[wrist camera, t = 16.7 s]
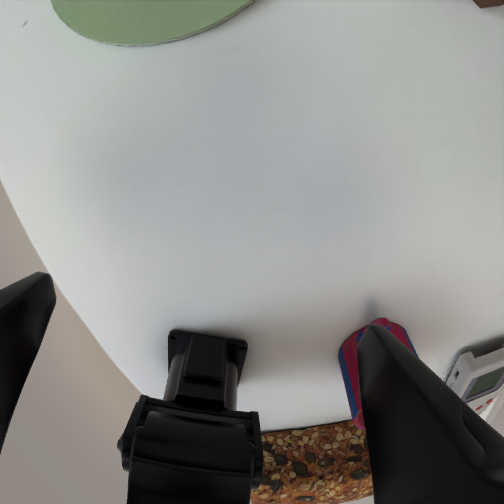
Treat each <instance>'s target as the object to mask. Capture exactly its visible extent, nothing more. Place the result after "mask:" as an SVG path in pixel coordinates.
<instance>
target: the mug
mask: <svg viewBox="0 0 504 504" xmlns="http://www.w3.org/2000/svg"><path fill="white" fill-rule="evenodd" d="M372 324H376V325H383V326H384V327H385V328H386V329H387V330H389V331H390V332H391V333H392V334H393V335H394V336H395V337H396V338H397V339H398V340H399V341H401V342H402V343H403V344H404V345H405V346H406V347H407V348H408V349H409V350H410V351H411V352H412V353H414V354H415V355H416V356H417V357H418V355H417V353H416V351H415V349H414V347H413V345H412V343H411V341H410V339H409V337H408V335H407V333H406V331H405V329H404V328H403V327H401V326H400V325H398V324H394V323H390V322H389V320H388V319H387V318H378V319H376V320H374V321H373V322H372ZM367 327H368V326H367ZM367 327H365V328H362V329H360V330H359V331H357V332H356V333H354V334H353V335H352V336H350V337H349V338H348V339H347V340H346V341H345V343H344V344H343V345H342V347H341V349H340V351H339V355H338V360H339V364H340V368H341V372H342V376H343V380H344V384H345V389H346V393H347V397H348V401H349V406H350V410H351V415H352V419H353V423H354V425H355V426H356V427H357V428H359V429H362V430H365V426H364V419H363V413H362V407H361V401H360V392H359V378H358V365H357V353H356V350H357V345H358V343H359V341H360V339H361V337H362V335H363V334H364V332H365V330H366V328H367Z"/></svg>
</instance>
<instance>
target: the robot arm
mask: <svg viewBox="0 0 504 504" xmlns="http://www.w3.org/2000/svg"><path fill="white" fill-rule="evenodd" d="M55 304H56V294H55V289H54V285H53V280H52V277H51V275H50V274H48V273H44V272H36V273H34V274H32V275H30V276H28V277H26V278H23V279H22V280H19V281H17V282H15V283H13V284H11V285H9V286H7V287H5V288H3V289H1V290H0V454H1V450H2V447H3V443H4V440H5V437H6V433H7V430H8V427H9V424H10V421H11V418H12V415H13V412H14V410H15V407H16V404H17V402H18V399H19V396H20V394H21V391H22V388H23V386H24V383H25V381H26V378H27V376H28V374H29V371H30V369H31V366H32V364H33V362H34V360H35V357H36V355H37V353H38V350H39V348H40V345H41V343H42V340H43V337H44V334H45V331H46V329H47V326H48V323H49V321H50V318H51V315H52V313H53V310H54V307H55ZM175 336H176V337H175ZM240 346H243V347H240ZM247 350H248V344H247V342H245V341H242V340H235V339H228V338H221V337H214V336H207V335H201V334H195V333H189V332H183V331H177V330H171V331H170V332H169V336H168V380H167V384H166V389H165V393H164V397H163V400H161V399H156V398H151V397H149V396H147V395H141V396H140V399H139V401H138V402H136V405H135V407H134V409H133V412H132V414H131V417H130V419H129V421H128V424H127V426H126V428H125V431H124V433H123V434H122V436H121V437H120V439H119V440H118V443H117V448H118V449H119V451H120V452H121V456H122V466H123V469H124V470H125V471H128V472H129V478H128V495H127V497H128V499H127V504H249V503H250V497H251V490H257V489H258V488H259V486H260V483H261V479H262V474H263V461H264V457H263V445H262V437H261V430H260V422H259V415H258V412H255V411H251V412H243V411H236V404H237V387H238V384H239V380H240V376H241V373H242V369H243V365H244V361H245V357H246V354H247ZM356 353H357V365H358V378H359V392H360V401H361V407H362V413H363V419H364V426H365V432H366V439H367V446H368V453H369V460H370V468H371V476H372V485H373V494H374V504H504V437H503V436H502V435H501V434H499V433H498V432H497V431H496V430H495V429H493V428H492V427H491V426H490V425H489V424H488V423H487V422H485V421H484V420H483V419H482V418H481V417H480V416H479V415H478V414H477V413H476V412H475V411H473V410H472V409H471V408H470V407H469V406H468V405H467V404H466V403H465V402H464V401H463V402H462V399H461V398H460V397H459V396H458V395H457V394H456V393H455V392H454V391H453V390H452V389H451V388H450V387H449V386H448V385H447V384H445V383H444V382H443V381H442V380H441V379H440V378H439V377H438V376H437V375H436V374H435V373H434V372H433V371H432V370H431V369H430V368H429V367H427V366H426V365H425V364H424V363H423V362H422V361H421V360H420V359H419V358H418V357H417V356H416V355H415V354H414V353H412V352H411V351H410V350H409V349H408V348H407V347H406V346H405V345H404V344H403V343H402V342H401V341H399V340H398V339H397V338H396V337H395V336H394V335H393V334H392V333H391V332H390V331H389V330H387V329H386V328H385V327H384V326H383V325H376V324H371V325H369V326H368V327H367V328H366V330H365V332H364V334H363V335H362V337H361V339H360V341H359V343H358V345H357V350H356Z"/></svg>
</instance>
